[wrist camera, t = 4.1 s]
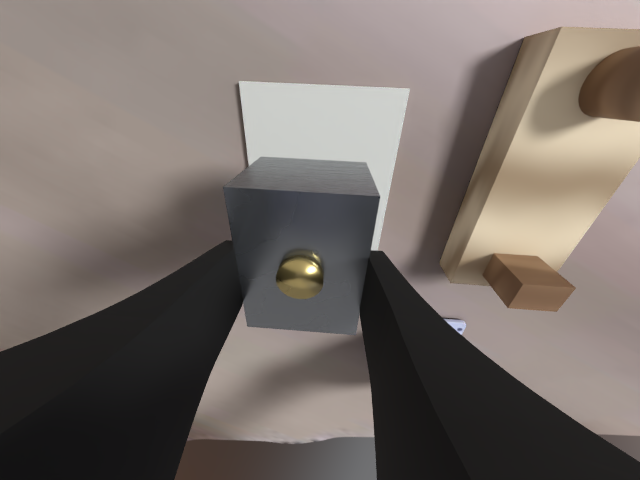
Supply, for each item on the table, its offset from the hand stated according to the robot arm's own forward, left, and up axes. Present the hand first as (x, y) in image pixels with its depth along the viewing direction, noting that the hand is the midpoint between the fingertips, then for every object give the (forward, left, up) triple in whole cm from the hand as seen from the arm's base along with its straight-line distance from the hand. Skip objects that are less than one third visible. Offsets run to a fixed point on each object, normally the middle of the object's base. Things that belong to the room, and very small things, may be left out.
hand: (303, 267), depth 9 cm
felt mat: (0, 0, -10) cm, 10 cm away
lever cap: (0, 0, -3) cm, 3 cm away
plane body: (+1, -14, -10) cm, 17 cm away
